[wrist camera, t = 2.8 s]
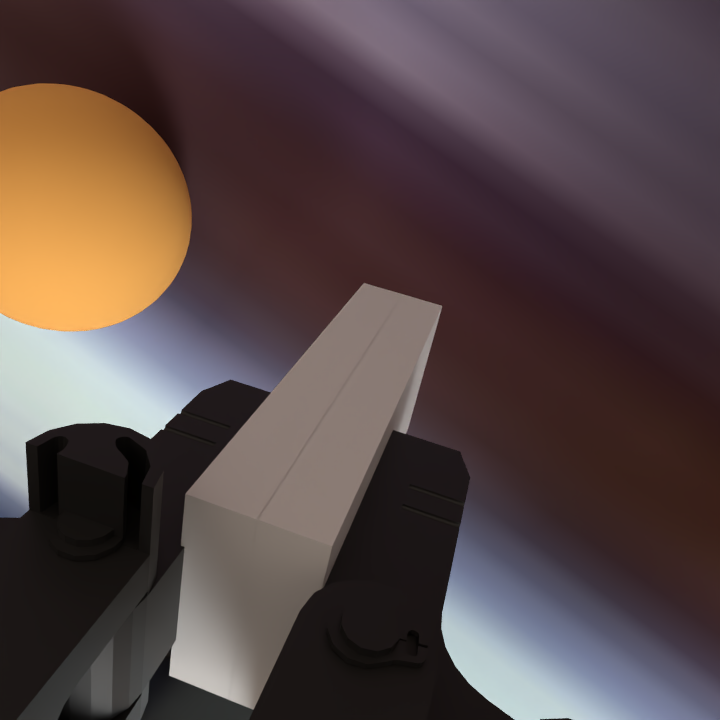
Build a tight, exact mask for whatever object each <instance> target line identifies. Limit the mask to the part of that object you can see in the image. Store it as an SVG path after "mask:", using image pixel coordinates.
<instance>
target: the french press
mask: <svg viewBox="0 0 720 720" xmlns="http://www.w3.org/2000/svg"><path fill="white" fill-rule="evenodd" d="M171 648H172V647H171ZM170 660H171V649H170V650H169V652H168V653H167V655H166V656H165V658H164V659H163V661H162V662H161V664H160V665H159V667H158V669H157V670H156V672H155V673H154V675H153V676H152V678H151V679H150V681H149V694H148V703H147V705H146V708H145V710H144V713H143V715H142V718H141V720H249V718H250V716H251V714H252V712H253V709H250V708H248V707H245V706H243V705H240V704H238V703H236V702H233V701H231V700H228V699H226V698H223V697H221V696H218V695H216V694H213V693H211V692H208V691H206V690H204V689H201V688H199V687H196V686H194V685H191V684H189V683H186V682H184V681H181V680H179V679H176V678H174V677H172V676H169V671H170Z"/></svg>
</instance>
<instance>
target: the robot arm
mask: <svg viewBox="0 0 720 720" xmlns="http://www.w3.org/2000/svg"><path fill="white" fill-rule="evenodd" d="M441 309H442V306H441V305H437V304H434V303H431V302H427V301H424V300H420V299H417V298H413V297H410V296H407V295H403V294H400V293H396V292H393V291H389V290H386V289H383V288H379V287H376V286H372V285H369V284H365V283H364V284H363V285H362V286H361V287H360V288H359V290H358V291H357V292H356V293H355V294H354V295H353V297H352V298H351V299H350V300H349V301H348V303H347V304H346V305H345V306H344V307H343V308H342V310H341V311H340V312H339V313H338V314H337V316H336V317H335V318H334V319H333V320H332V321H331V323H330V324H329V325H328V326H327V327H326V328H325V330H324V331H323V332H322V333H321V334H320V336H319V337H318V338H317V339H316V340H315V341H314V343H313V344H312V345H311V346H310V347H309V349H308V350H307V351H306V352H305V353H304V354H303V356H302V357H301V358H300V359H299V360H298V362H297V363H296V364H295V365H294V366H293V367H292V369H291V370H290V371H289V372H288V373H287V375H286V376H285V377H284V378H283V379H282V380H281V382H280V383H279V384H278V385H277V386H276V388H275V389H274V390H273V391H272V392H271V393H270V392H267V391H264V390H261V389H258V388H255V387H252V386H249V385H246V384H242V383H239V382H236V381H233V380H229V381H226V382H224V383H221V384H219V385H216V386H214V387H211V388H208V389H206V390H203V391H201V392H200V393H199V394H198V395H197V396H196V397H195V398H194V399H193V400H192V401H191V402H190V403H189V404H187V405H186V406H185V407H184V408H183V409H182V412H181V414H177V415H176V416H175V417H174V418H173V419H172V420H171V421H170V422H168V423H167V424H166V425H165V429H164V430H162V429H161V430H160V431H159V432H158V433H157V434H156V435H155V436H154V437H153V438H152V439H149V438H147V437H146V436H144V435H142V434H140V433H138V432H136V431H134V430H132V429H130V428H126V427H121V426H116V425H111V424H106V423H90V424H73V425H69V426H65V427H61V428H57V429H52V430H49V431H47V432H45V433H43V434H41V435H39V436H37V437H35V438H33V439H31V440H29V441H27V442H26V458H27V475H28V493H29V511H28V512H26V513H25V514H24V515H23V516H22V517H21V518H0V720H141V718H142V715H143V713H144V710H145V708H146V705H147V703H148V694H149V681H150V679H151V678H152V676H153V675H154V673H155V672H156V670H157V669H158V667H159V665H160V664H161V662H162V661H163V659H164V658H165V656H166V655H167V653H168V652H169V650H170V649H171V660H170V671H169V676H172V677H174V678H176V679H179V680H181V681H184V682H186V683H189V684H191V685H194V686H196V687H199V688H201V689H204V690H206V691H208V692H211V693H213V694H216V695H218V696H221V697H223V698H226V699H228V700H231V701H233V702H236V703H238V704H240V705H243V706H245V707H248V708H250V709H253V712H252V714H251V716H250V718H249V720H514V719H513V718H511V717H510V716H509V715H507V714H506V713H504V712H503V711H502V710H500V709H499V708H498V707H496V706H495V705H494V704H492V703H491V702H489V701H488V700H487V699H486V698H485V697H483V696H482V695H481V694H480V693H479V692H478V691H477V690H475V689H474V688H473V687H472V686H471V685H470V684H469V683H468V682H467V681H466V679H465V678H464V677H463V676H462V674H461V673H460V672H459V671H458V669H457V668H456V667H455V665H454V663H453V661H452V659H451V657H450V655H449V653H448V651H447V649H446V647H445V643H444V639H443V635H442V630H441V622H442V610H443V605H444V601H445V596H446V591H447V586H448V581H449V576H450V572H451V567H452V562H453V557H454V552H455V547H456V543H457V538H458V533H459V527H460V523H461V518H462V514H463V509H464V503H465V499H466V494H467V490H468V485H469V480H470V476H469V473H468V471H467V468H466V466H465V463H464V461H463V458H462V455H461V453H460V452H459V451H456V450H453V449H450V448H447V447H444V446H441V445H438V444H435V443H432V442H429V441H426V440H423V439H419V438H416V437H413V436H410V435H407V434H406V432H407V430H408V427H409V423H410V420H411V416H412V412H413V409H414V405H415V402H416V398H417V395H418V391H419V388H420V384H421V380H422V377H423V373H424V370H425V366H426V363H427V359H428V355H429V352H430V348H431V345H432V341H433V338H434V334H435V331H436V327H437V323H438V320H439V316H440V313H441ZM171 647H172V648H171ZM540 720H572V719H569V718H563V719H540Z"/></svg>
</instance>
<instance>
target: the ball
mask: <svg viewBox="0 0 720 720" xmlns="http://www.w3.org/2000/svg"><path fill="white" fill-rule="evenodd" d="M191 227H192V211H191V201H190V197H189V192H188V187H187V184H186V181H185V178H184V175H183V173H182V171H181V169H180V166H179V164H178V162H177V160H176V158H175V157H174V155H173V153H172V152H171V150H170V148H169V147H168V146H167V144H166V143H165V142H164V140H163V139H162V138H161V137H160V136H159V134H158V133H157V132H156V131H155V130H154V129H153V128H152V127H151V126H150V125H149V124H148V123H147V122H145V121H144V120H143V119H142V118H141V117H140V116H139V115H137V114H136V113H135V112H133V111H132V110H130V109H129V108H127V107H126V106H124V105H122V104H121V103H119V102H117V101H115V100H113V99H111V98H109V97H107V96H105V95H103V94H100V93H97V92H94V91H91V90H88V89H84V88H81V87H76V86H71V85H65V84H46V83H38V84H31V85H24V86H18V87H12V88H10V89H7V90H4V91H1V92H0V313H1V314H3V315H5V316H7V317H9V318H11V319H14V320H16V321H19V322H21V323H24V324H27V325H31V326H34V327H38V328H42V329H49V330H57V331H88V330H94V329H99V328H103V327H107V326H111V325H114V324H117V323H120V322H122V321H124V320H126V319H129V318H131V317H132V316H134V315H136V314H138V313H140V312H141V311H143V310H144V309H145V308H147V307H148V306H149V305H151V304H152V303H153V302H154V301H156V300H157V299H158V298H159V297H160V295H161V294H162V293H163V292H164V291H165V290H166V289H167V288H168V286H169V285H170V284H171V283H172V281H173V280H174V278H175V277H176V275H177V273H178V271H179V269H180V267H181V265H182V263H183V261H184V258H185V256H186V253H187V249H188V246H189V240H190V234H191Z"/></svg>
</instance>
